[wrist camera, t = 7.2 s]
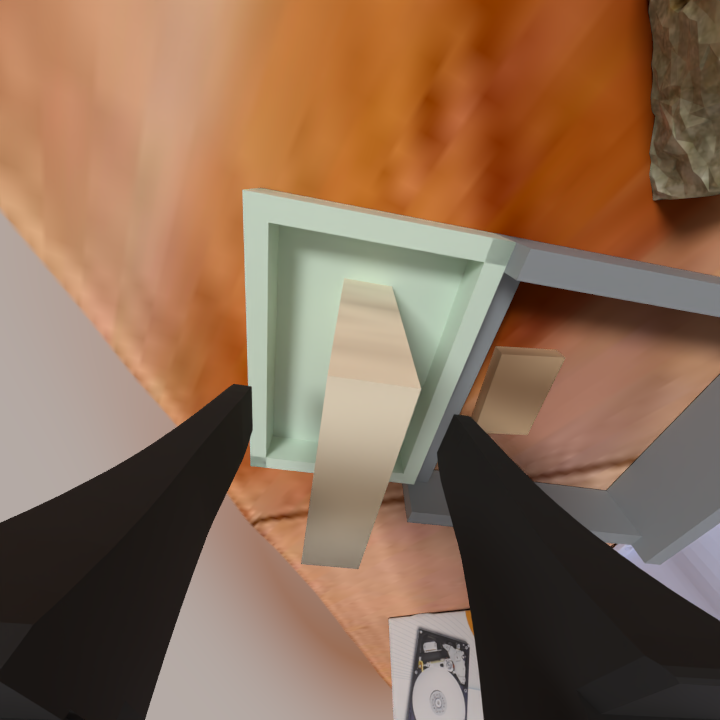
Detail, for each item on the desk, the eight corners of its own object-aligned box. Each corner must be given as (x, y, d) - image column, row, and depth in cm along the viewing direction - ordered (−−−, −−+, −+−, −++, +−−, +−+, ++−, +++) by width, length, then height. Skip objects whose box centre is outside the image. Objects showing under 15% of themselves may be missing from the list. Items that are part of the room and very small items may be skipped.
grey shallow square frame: (610, 501, 21) (660, 564, 17) (401, 476, 19) (409, 540, 16) (819, 296, 13) (983, 338, 10) (493, 233, 12) (548, 255, 8)
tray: (409, 456, 18) (414, 484, 17) (261, 437, 18) (250, 465, 16) (493, 233, 12) (516, 242, 10) (261, 187, 11) (242, 189, 9)
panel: (359, 426, 16) (358, 569, 10) (323, 422, 16) (301, 564, 10) (391, 286, 12) (421, 388, 6) (344, 278, 12) (327, 375, 6)
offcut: (520, 424, 17) (527, 435, 16) (469, 422, 17) (473, 432, 16) (555, 349, 14) (565, 357, 14) (495, 345, 14) (502, 354, 14)
